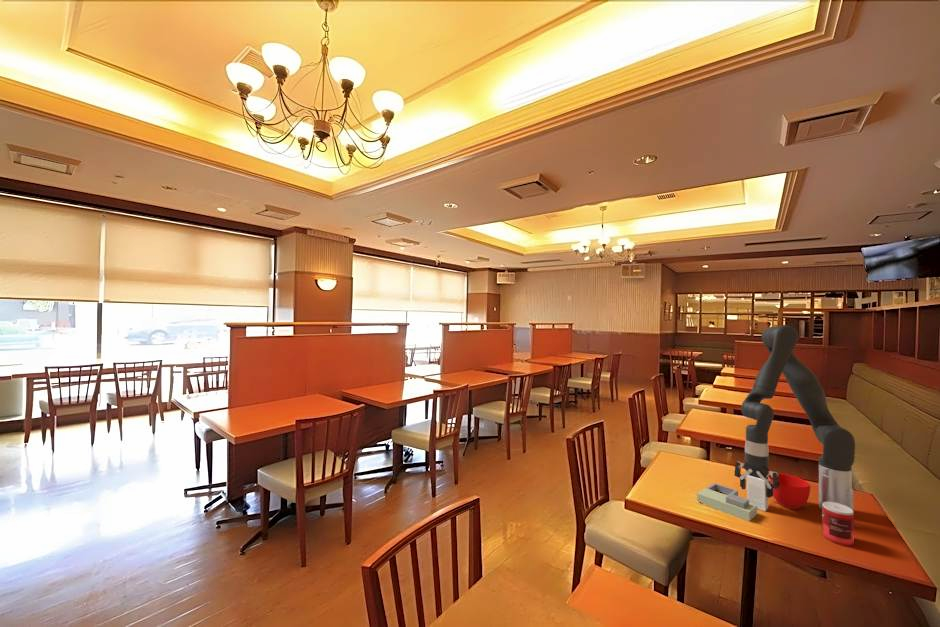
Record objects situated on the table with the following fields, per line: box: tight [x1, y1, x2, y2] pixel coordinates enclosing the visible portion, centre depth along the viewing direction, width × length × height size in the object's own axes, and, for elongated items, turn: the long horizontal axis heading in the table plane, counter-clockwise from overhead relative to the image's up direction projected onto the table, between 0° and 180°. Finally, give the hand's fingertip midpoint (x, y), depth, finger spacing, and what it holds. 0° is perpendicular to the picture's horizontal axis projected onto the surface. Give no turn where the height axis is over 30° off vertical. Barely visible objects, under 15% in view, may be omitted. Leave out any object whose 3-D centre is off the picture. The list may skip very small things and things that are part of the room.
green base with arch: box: [696, 482, 758, 522], centre depth 154 cm, size 18×18×6 cm
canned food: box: [821, 502, 855, 547], centre depth 130 cm, size 8×8×11 cm
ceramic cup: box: [767, 473, 811, 510], centre depth 154 cm, size 13×17×10 cm
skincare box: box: [746, 475, 769, 512], centre depth 151 cm, size 6×4×12 cm
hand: (756, 492), depth 152 cm, fingers open, 8 cm apart
